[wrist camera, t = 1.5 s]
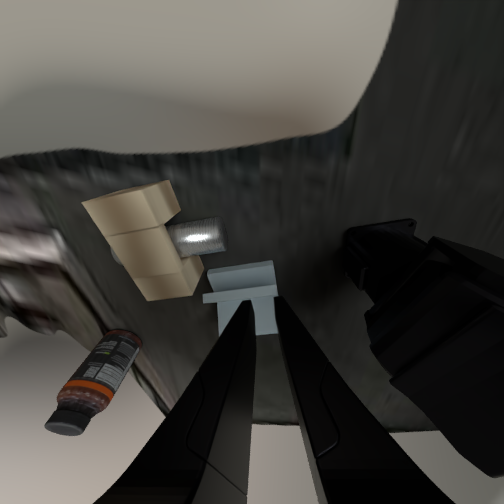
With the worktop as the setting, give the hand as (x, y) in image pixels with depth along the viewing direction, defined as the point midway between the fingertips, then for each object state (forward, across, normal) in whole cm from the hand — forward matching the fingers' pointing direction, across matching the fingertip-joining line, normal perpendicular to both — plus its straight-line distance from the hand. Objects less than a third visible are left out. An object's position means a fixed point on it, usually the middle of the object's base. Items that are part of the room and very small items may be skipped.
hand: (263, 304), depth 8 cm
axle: (+10, +10, 0) cm, 14 cm away
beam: (+12, +10, 0) cm, 16 cm away
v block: (+12, +4, +10) cm, 16 cm away
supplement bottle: (+12, +26, +17) cm, 33 cm away
